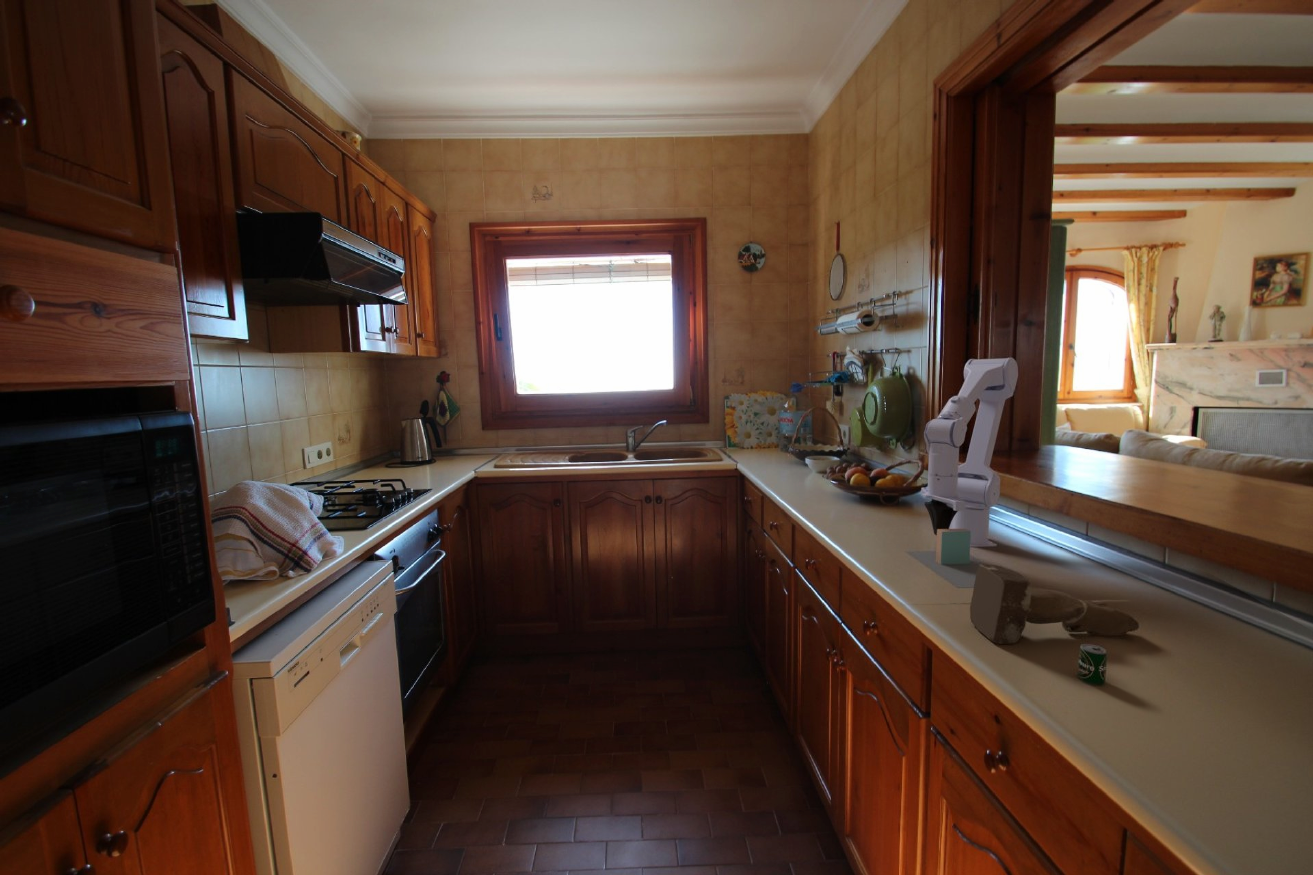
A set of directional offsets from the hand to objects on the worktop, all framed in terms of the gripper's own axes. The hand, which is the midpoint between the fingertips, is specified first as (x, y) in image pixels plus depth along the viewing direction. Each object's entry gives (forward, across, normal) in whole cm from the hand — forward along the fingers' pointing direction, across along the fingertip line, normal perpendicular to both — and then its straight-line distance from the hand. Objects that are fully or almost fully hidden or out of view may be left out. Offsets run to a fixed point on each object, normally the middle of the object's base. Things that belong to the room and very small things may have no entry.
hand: (940, 535), depth 119 cm
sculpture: (+5, +36, -1) cm, 37 cm away
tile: (+4, +5, 0) cm, 7 cm away
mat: (+5, +8, 0) cm, 9 cm away
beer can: (+5, +49, -6) cm, 50 cm away
